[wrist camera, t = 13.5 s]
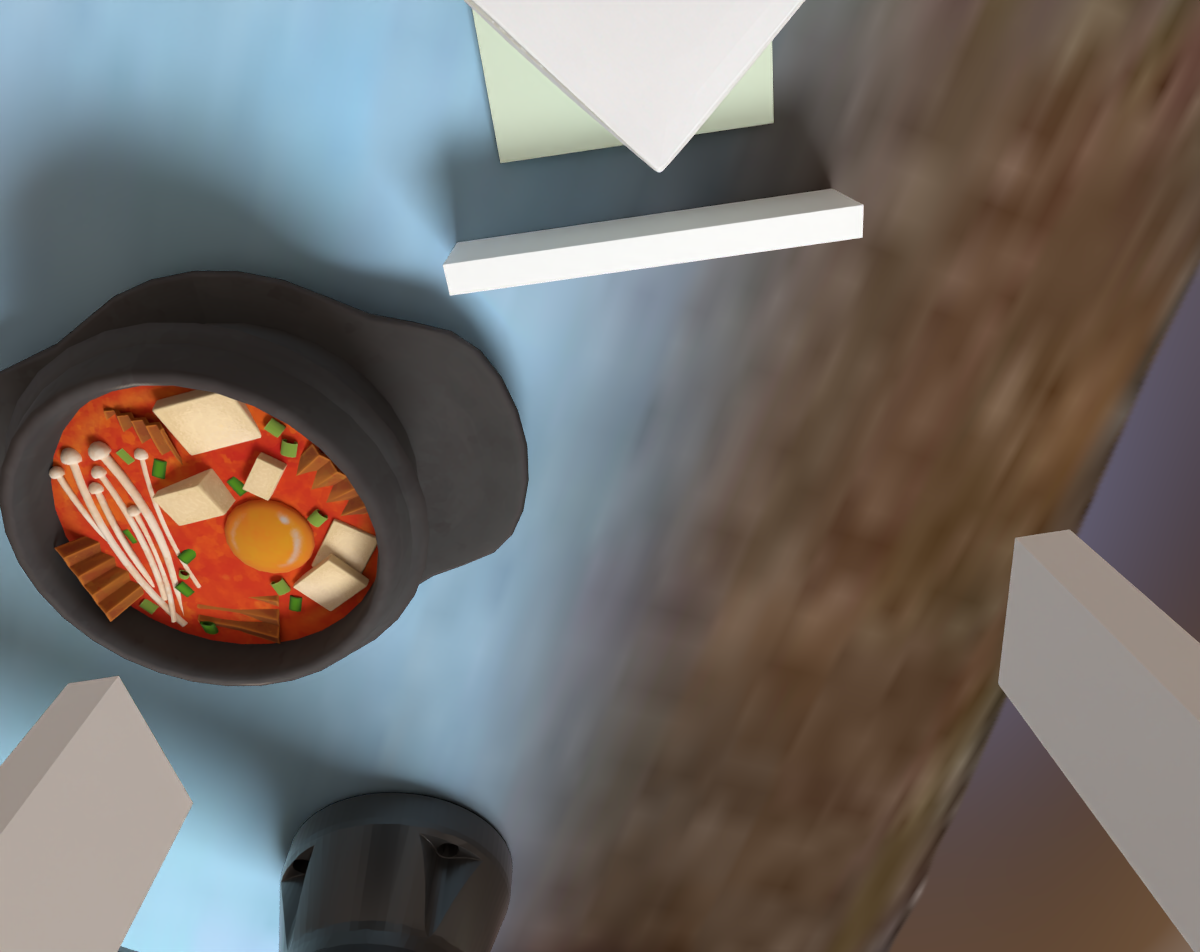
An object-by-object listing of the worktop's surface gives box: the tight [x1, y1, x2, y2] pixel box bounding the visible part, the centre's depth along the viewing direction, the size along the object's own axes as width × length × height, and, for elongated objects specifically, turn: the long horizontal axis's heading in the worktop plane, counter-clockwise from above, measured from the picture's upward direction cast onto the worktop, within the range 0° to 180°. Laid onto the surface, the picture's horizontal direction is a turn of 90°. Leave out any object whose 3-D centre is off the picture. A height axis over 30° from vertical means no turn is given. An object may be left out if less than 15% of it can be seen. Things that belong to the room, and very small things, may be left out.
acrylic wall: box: [443, 189, 863, 296], centre depth 31 cm, size 16×1×4 cm, turn 98°
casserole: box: [0, 271, 529, 686], centre depth 34 cm, size 25×19×8 cm
